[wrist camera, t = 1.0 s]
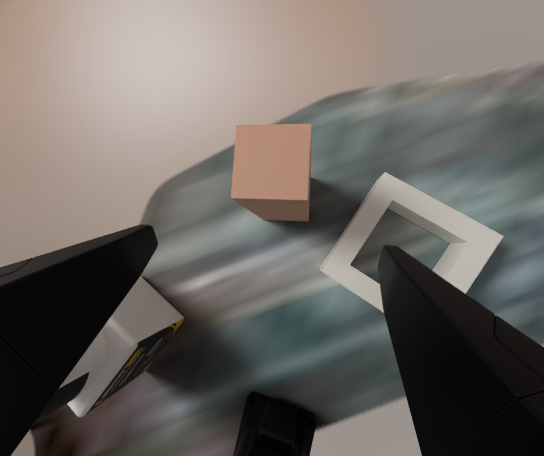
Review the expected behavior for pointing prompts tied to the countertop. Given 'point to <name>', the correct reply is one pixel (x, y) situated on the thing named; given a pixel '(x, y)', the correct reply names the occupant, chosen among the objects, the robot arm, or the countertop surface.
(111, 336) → the printed box
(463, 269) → the socket block
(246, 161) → the plug
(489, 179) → the countertop surface
